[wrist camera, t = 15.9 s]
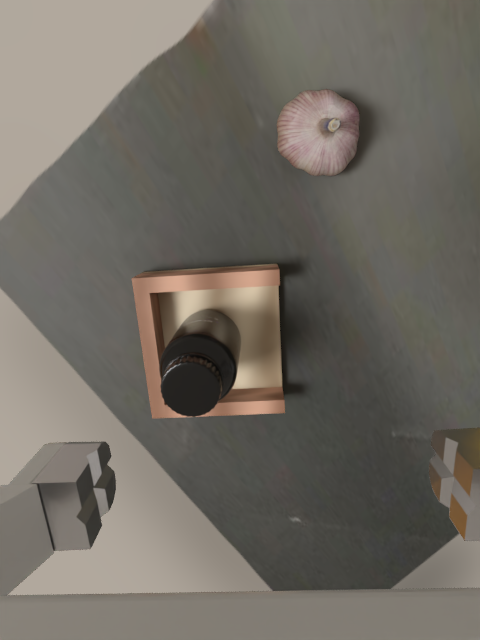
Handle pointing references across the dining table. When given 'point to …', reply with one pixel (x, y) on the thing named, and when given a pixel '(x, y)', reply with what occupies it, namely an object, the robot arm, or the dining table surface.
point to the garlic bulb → (319, 132)
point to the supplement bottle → (200, 363)
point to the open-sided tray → (232, 300)
